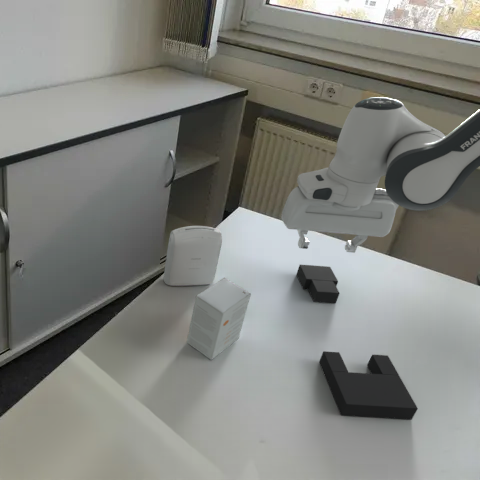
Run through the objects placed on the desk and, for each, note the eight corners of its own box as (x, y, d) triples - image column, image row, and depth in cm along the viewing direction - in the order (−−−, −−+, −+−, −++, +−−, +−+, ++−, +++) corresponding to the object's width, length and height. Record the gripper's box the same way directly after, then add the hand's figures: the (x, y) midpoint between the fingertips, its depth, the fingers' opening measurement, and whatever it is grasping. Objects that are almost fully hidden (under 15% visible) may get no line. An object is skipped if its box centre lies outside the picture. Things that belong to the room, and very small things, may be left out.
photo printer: (165, 288, 104) (174, 234, 98) (160, 274, 108) (168, 221, 101) (215, 286, 106) (228, 233, 99) (209, 273, 110) (221, 221, 103)
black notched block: (318, 362, 91) (323, 351, 90) (382, 366, 92) (387, 355, 90) (341, 415, 82) (346, 404, 80) (411, 419, 82) (418, 408, 81)
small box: (213, 322, 97) (224, 276, 91) (239, 339, 94) (252, 292, 88) (185, 342, 92) (195, 294, 86) (211, 361, 89) (223, 312, 83)
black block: (296, 274, 112) (299, 264, 111) (326, 276, 112) (330, 266, 111) (308, 301, 105) (312, 291, 103) (340, 303, 105) (344, 293, 104)
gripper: (397, 183, 101) (371, 244, 109) (290, 173, 100) (271, 235, 108) (412, 199, 96) (383, 262, 104) (299, 189, 95) (279, 253, 102)
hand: (325, 248), depth 106 cm, fingers open, 8 cm apart
